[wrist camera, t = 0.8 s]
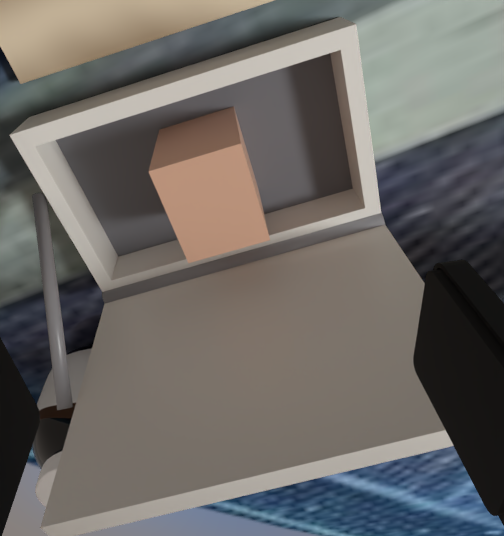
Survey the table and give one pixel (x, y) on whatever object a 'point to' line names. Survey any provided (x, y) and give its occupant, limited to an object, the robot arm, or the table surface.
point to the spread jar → (56, 422)
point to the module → (208, 185)
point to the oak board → (95, 28)
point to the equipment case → (229, 293)
